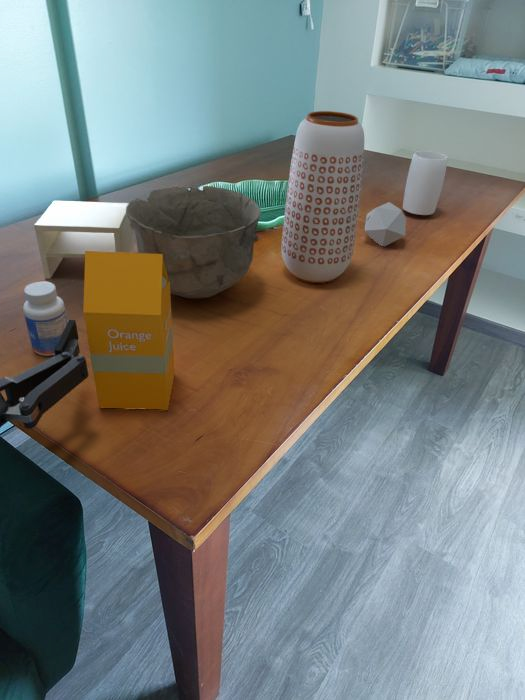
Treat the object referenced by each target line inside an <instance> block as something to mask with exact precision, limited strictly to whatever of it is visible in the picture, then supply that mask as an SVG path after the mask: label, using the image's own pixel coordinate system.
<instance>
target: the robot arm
mask: <svg viewBox="0 0 525 700" xmlns="http://www.w3.org/2000/svg"><path fill="white" fill-rule="evenodd" d="M76 321H77V320H76V319H68V320H67V325H66V327H65V329H64V331H63V333H62V335H61V337H60V339H59V341H58V344H57V346H56V348H55V350H54V352H55V355H54V356H53V357H50V358H49V359H47V360H45V361H43V362H40V363H39V364H36V365H35V366H33V367H30V368H29V369H27V370H24V371H22V372H20V373H18V374H16V375H14V376H12V377H9V376H4V377H1V378H0V429H1V428H2V427H3V426H4V425H5V424H7V423H8V422H20V423H21V422H22V425H23V427H24V428H25V429H27V430H30V429H33V428H35V427H36V426H37V425H38V424H39V422H40V420H41V419H42V417H43V415H44V414H45V413H47V412H48V411H49V410H50V409H52V408H53V407H54V406H55V405H56V404H57V403H59V402H60V401H61V400H62V399H64V398H65V397H66V396H67V395H68V394H69V393H71V392H72V391H73V390H74V389H75V388H77V387H78V386H79V385H80V384H81V383H83V382H84V381H86V379H88V377H89V369H88V364H87V358H86V357H85V355H80V353H81V350H80V345H79V332H78V327H77V322H76ZM3 391H4V393H5V396H6V398H5V397H4V396H3V394H2V392H3Z"/></svg>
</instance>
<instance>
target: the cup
mask: <svg viewBox="0 0 525 700" xmlns="http://www.w3.org/2000/svg"><path fill="white" fill-rule="evenodd" d="M448 158H449V157H448V155H446V154H444V153H441V152H438V151H434V150H433V151H432V150H417V151H415V152H413V154H412V158H411V161H410V165H409V169H408V173H407V177H406V182H405V188H404V193H403V201H402V210H404V211H405V212H407V213H410V214H413V215H421V216H429V215H433V214H435V212H436V209H437V206H438V204H439V203H438V202H439V199H440V198H441V197H440V196H441V192H442V189H443V186H444V181H445V177H446V173H447V172H446V171H447V168H448V167H447V166H448V161H449V159H448Z"/></svg>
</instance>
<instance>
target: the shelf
mask: <svg viewBox="0 0 525 700" xmlns="http://www.w3.org/2000/svg"><path fill="white" fill-rule="evenodd" d="M129 203H130V202H107V201H106V202H105V201H103V202H102V201H75V200H53V201H52V203H51V204H50V205H49V206H48V207H47V209H46V210H45V211H44V212H43V213H42V215H41V216H40V217H39V218H38V220H37V221H36V222H35V223H34V230H35V235H36V241H37V246H38V250H39V256H40V261H41V265H42V270H43V275H44V279H51V278H52V277H53V275H54V273H55V272H56V270H57V269H58V268H59V265H60V264H61V262H62V260H63V259H64V258H68V259H69V258H71V259H72V258H73V259H85V251H99V252H124V253H136V251H135V240H134V229H133V228H132V227H131V226H130V224H131V223H130V221H129V219H128V217H127V214H126V206H127V205H128V204H129Z"/></svg>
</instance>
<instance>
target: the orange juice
mask: <svg viewBox="0 0 525 700" xmlns="http://www.w3.org/2000/svg"><path fill="white" fill-rule="evenodd" d="M83 279H84V281H83V287H84V288H83V310H82V312H83V318H84V323H85V330H86V335H87V336H86V337H87V343H88V349H89V358H90V364H91V369H92V373H93V379H94V384H95V391H96V396H97V397H96V398H97V403H98V408H99V407H100V408H102V407H103V408H137V409H138V408H145V409H164V410H163V411H165V409H166V410H168V411H169V407H168V406H170V402H169V401H171V397H170V395H171V396H172V391H173V386H172V385H174V381H173V380H175V376H174V375H176V373H175V355H174V354H175V353H174V331H173V317H172V316H173V315H172V300H171V298H172V296H171V293H170V282H169V280H168V276H167V272H166V268H165V263H164V259H163V254H148V253H138V252H135V253H124V252H99V251H85V258H84V278H83ZM171 390H172V391H171Z"/></svg>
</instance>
